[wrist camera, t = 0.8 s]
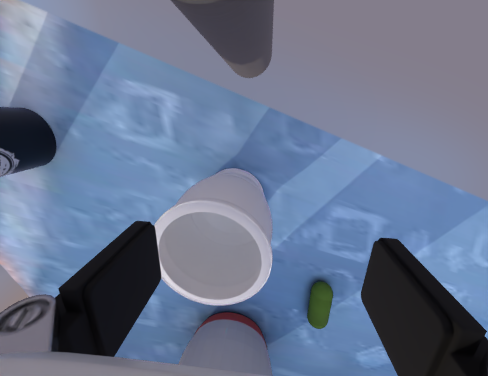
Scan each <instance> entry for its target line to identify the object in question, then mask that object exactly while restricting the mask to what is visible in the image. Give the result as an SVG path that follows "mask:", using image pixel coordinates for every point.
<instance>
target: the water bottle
mask: <svg viewBox="0 0 488 376" xmlns="http://www.w3.org/2000/svg"><path fill="white" fill-rule="evenodd" d="M55 151H56V142H55V137H54V134H53V132H52V130H51V128H50V127H49V125H48V124H47V123H46V121H45V120H44V119H43V118H42V117H41V116H39V115H38V114H37V113H35V112H33V111H31V110H29V109H25V108H10V107H0V177H3V176H6V175H9V174H13V173H17V172H20V171H24V170H28V169H31V168H35V167H39V166H43V165H46V164H47V163H49V162H50V161H51V160H52V159H53V157H54V155H55Z"/></svg>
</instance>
